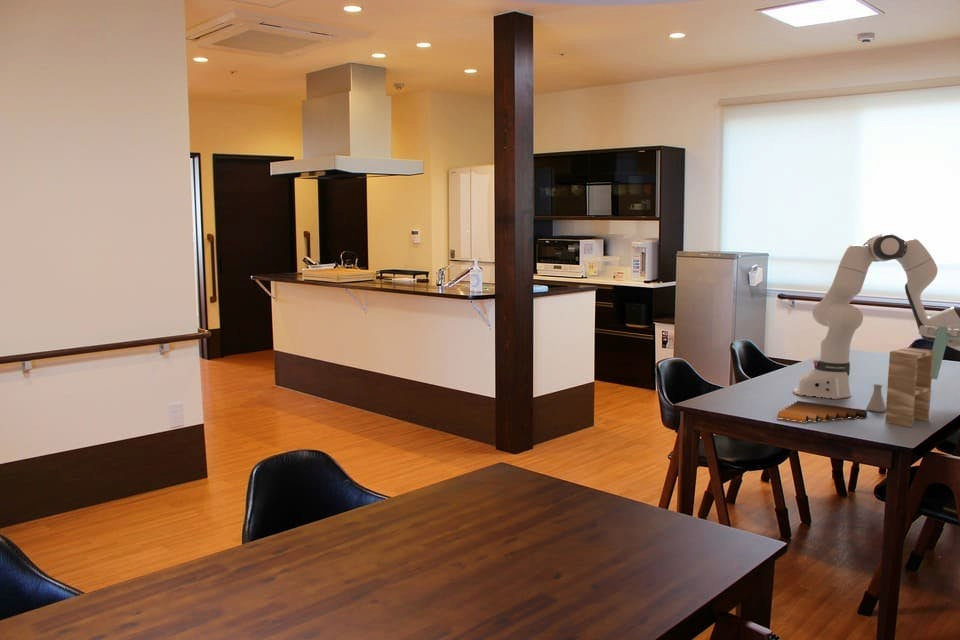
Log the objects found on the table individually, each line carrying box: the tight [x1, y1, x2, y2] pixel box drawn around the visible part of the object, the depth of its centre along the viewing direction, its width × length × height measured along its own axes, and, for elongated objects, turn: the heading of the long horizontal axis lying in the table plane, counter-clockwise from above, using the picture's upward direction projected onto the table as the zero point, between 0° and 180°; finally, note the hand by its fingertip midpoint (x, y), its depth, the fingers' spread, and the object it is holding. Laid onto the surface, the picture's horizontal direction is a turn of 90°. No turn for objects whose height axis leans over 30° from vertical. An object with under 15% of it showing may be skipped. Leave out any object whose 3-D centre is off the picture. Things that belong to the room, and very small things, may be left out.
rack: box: [884, 347, 934, 428], centre depth 287 cm, size 15×9×26 cm, turn 130°
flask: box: [865, 383, 886, 413], centre depth 305 cm, size 7×7×10 cm
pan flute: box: [776, 400, 868, 422], centre depth 294 cm, size 25×3×25 cm
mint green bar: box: [931, 326, 949, 380], centre depth 302 cm, size 20×3×3 cm
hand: (941, 330), depth 302 cm, fingers closed on mint green bar, 3 cm apart
